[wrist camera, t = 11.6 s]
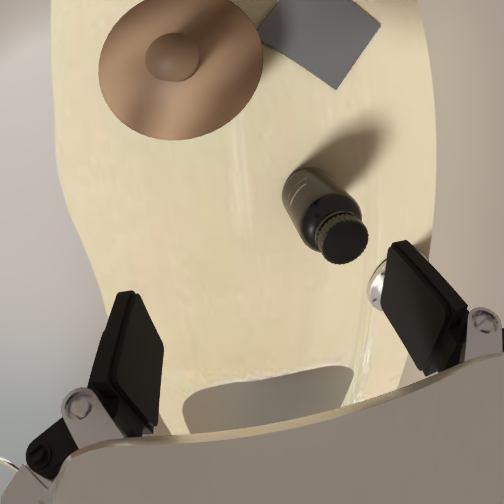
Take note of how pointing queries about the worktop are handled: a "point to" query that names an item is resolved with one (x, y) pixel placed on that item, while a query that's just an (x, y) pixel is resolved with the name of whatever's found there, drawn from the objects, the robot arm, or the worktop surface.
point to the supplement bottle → (325, 215)
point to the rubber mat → (319, 35)
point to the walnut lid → (180, 67)
